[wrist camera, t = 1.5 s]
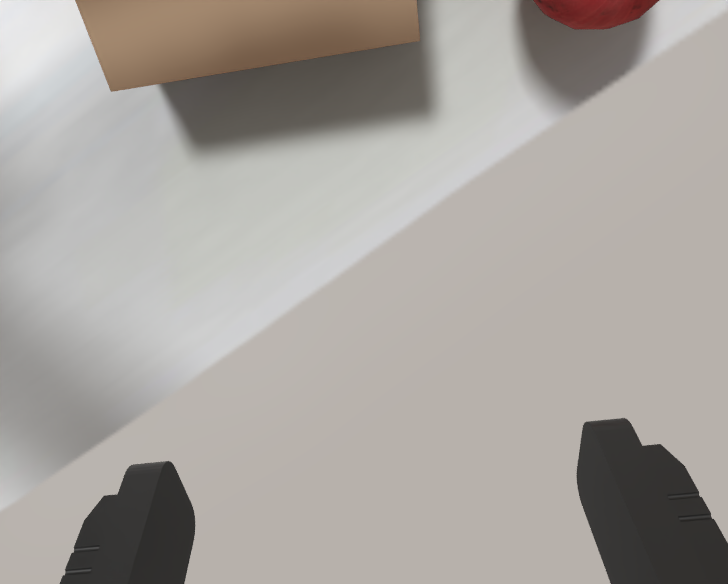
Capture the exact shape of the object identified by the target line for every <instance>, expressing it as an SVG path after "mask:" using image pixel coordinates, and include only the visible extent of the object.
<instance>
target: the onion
mask: <svg viewBox="0 0 728 584" xmlns="http://www.w3.org/2000/svg"><path fill="white" fill-rule="evenodd" d="M533 1H534V2H535V3H536V4H537V6H538V7H539V8H540V9H541V11H542V12H543V13H544V14H546V15H547V16H549V17H550V18H552V19H554V20H556V21H558V22H561V23H563V24H565V25H567V26H569V27H571V28H573V29H609V28H612V27H615V26H618V25H621V24H624V23H627V22H630V21H633V20H635V19H638V18H640V17H641V16H642V15H643V14H644V13H645V12H646V11H648V10H649V9H650V8H651V7H652V6H653V5H655V4H656V3H657V2H658V1H659V0H533Z"/></svg>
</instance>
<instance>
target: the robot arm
mask: <svg viewBox="0 0 728 584" xmlns="http://www.w3.org/2000/svg"><path fill="white" fill-rule="evenodd" d="M577 485H578V491H579V496H580V500H581V503H582V506H583V509H584V512H585V514H586V517H587V520H588V522H589V525H590V528H591V531H592V533H593V536H594V539H595V542H596V544H597V547H598V550H599V552H600V555H601V558H602V560H603V563H604V566H605V569H606V571H607V574H608V577H609V580H610V583H611V584H728V543H727V541H726V540H725V538H724V536H723V534H722V532H721V531H720V529H719V527H718V525H717V524H716V522H715V520H714V519H712V518H711V513H710V511H709V509H708V507H707V506H706V504H705V502H704V500H703V498H702V497H700V496H699V491H698V489H697V488H696V486H695V484H694V482H693V481H692V479H691V477H690V475H689V473H688V471H687V470H686V468H685V466H684V465H683V464H682V463H681V462H680V461H678V460H677V459H676V458H675V457H674V456H673V455H672V454H671V453H670V452H668V451H667V450H666V449H665V448H664V447H663V446H662V445H661V444H657V445H647V446H642V444H641V442H640V440H639V438H638V436H637V434H636V433H635V430H634V429H633V427H632V425H631V423H630V422H629V421H628V420H627V419H625V418H621V419H611V420H601V421H591V422H585V423H584V425H583V430H582V438H581V444H580V452H579V459H578V466H577ZM194 535H195V516H194V510H193V507H192V504H191V502H190V500H189V498H188V495H187V493H186V491H185V489H184V487H183V484H182V482H181V480H180V478H179V475H178V473H177V471H176V469H175V467H174V465H173V464H172V463H171V462H169V461H166V462H156V463H145V464H135V465H131V466H130V467H129V468H128V469H127V471H126V473H125V475H124V478H123V481H122V484H121V487H120V489H119V492H118V495H108V496H104V497H103V498H102V499H101V500H100V501H99V503H98V504H97V505H96V507H95V508H94V509H93V510H92V512H91V513H90V514H89V515H88V517H87V518H86V519H85V520H84V523H83V525H82V528H81V530H80V533H79V536H78V538H77V541H76V543H75V546H74V553H72V554H71V556H70V559H69V561H68V564H67V566H66V569H65V571H66V573H65V575H64V576H63V577H62V579H61V582H60V584H184V582H185V578H186V573H187V568H188V564H189V559H190V555H191V550H192V545H193V540H194Z"/></svg>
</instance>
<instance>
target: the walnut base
mask: <svg viewBox="0 0 728 584" xmlns="http://www.w3.org/2000/svg"><path fill="white" fill-rule="evenodd" d="M75 1H76V3H77V6H78V9H79V11H80V14H81V16H82V19H83V21H84V24H85V26H86V29H87V32H88V34H89V37H90V39H91V42H92V44H93V47H94V49H95V52H96V55H97V57H98V60H99V62H100V65H101V67H102V70H103V72H104V75H105V77H106V80H107V83H108V85H109V88H110V90H111V92H112V91H118V90H125V89H131V88H137V87H143V86H149V85H155V84H161V83H167V82H173V81H179V80H185V79H191V78H198V77H204V76H210V75H216V74H222V73H228V72H234V71H240V70H246V69H252V68H258V67H264V66H271V65H277V64H283V63H289V62H295V61H301V60H307V59H313V58H319V57H325V56H331V55H337V54H344V53H350V52H356V51H362V50H368V49H374V48H380V47H386V46H392V45H398V44H404V43H410V42H417V41H420V33H419V22H418V11H417V0H75Z"/></svg>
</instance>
